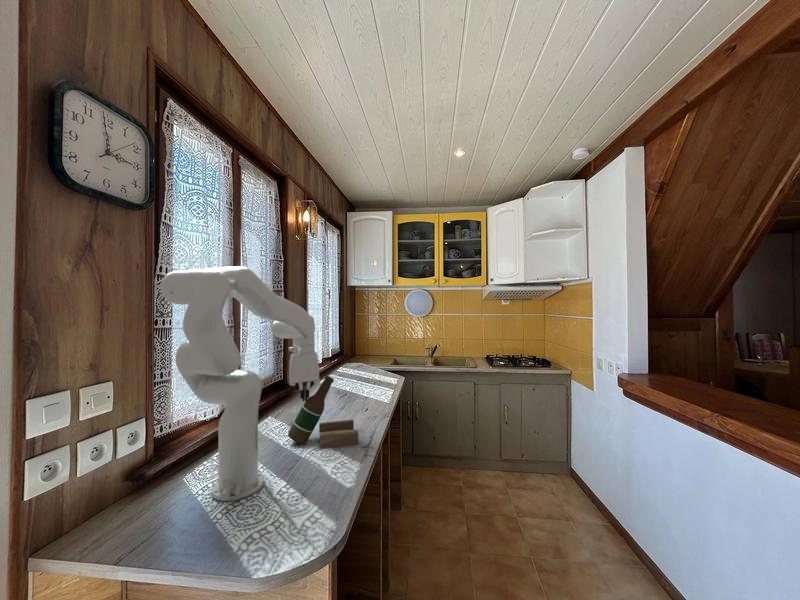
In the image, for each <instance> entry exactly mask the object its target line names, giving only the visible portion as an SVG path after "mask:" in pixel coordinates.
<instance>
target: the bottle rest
mask: <svg viewBox="0 0 800 600" xmlns="http://www.w3.org/2000/svg"><path fill="white" fill-rule="evenodd" d="M318 423H319V424H318V425H319V426H318V427H319V428H318V429H319V430H318V434H319V446H320V448H319V449H320V450H322V449H330V448H338V447H339V448H340V447H345V446H346V447H347V446H355V445H359V432H358V430H356V431H355V429H354V426H355V425H354V419H346V420H345V419H344V420H335V421H326V422H324V421H323V422H318Z"/></svg>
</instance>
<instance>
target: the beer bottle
mask: <svg viewBox="0 0 800 600" xmlns="http://www.w3.org/2000/svg"><path fill="white" fill-rule="evenodd" d="M334 381H335V379H334V378H333V377H331V376H330V375H326V376H324V380H322V382H321V384H320V386H319V387H318V389H317V390H316V392H314V394H312V396H309V398H307V401H304V403H303V405H302V407H301V409H300V410H299V412H298V413H297V416H296V418H295V419H294V421H293V422H292V425H291V426H290V429H289V430H288V433H287V434H288V435H287V437H288V438H290V439H291V440H292V441H293V442H296V443H298V444H306V443H307V442H308V440H309V439H310V437H311V435H312V433H313V431H314V430H315V428H316V426H317V425H318V423H319V420H320V419H321V417H322V415H323V412H324V410H325V399H326V398H327V394H328V392H329V391H330V387H331V386H332V384H333V383H334Z"/></svg>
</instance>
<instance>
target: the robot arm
mask: <svg viewBox="0 0 800 600" xmlns="http://www.w3.org/2000/svg"><path fill="white" fill-rule="evenodd" d="M160 292H161V293H162V296H163V297H164V298H165V299H166V301H169V303H173V304H175V305H187V307H186V310H185V313H184V317H183V320H182V330H183V334H184V335H185V338H186V340H185V341H184V342H182V343H181V344H180V345H179V346H178V348H177V350H176V353H175V364H176V365H175V366H176V369H177V371H178V372H179V373H180V375H181V376H182V378H183V379H184V381H185V383H186V384H187V385H188V387H189V388H190V390H191V392H193V394H194V395H195V396H196V398H197V399H198V400H200V401H201V402H203V403H206V404H213V405H220V406H225V408H224V411H223V413H222V414H221V416H220V419H219V421H218V467H217V468H218V471H217V472H218V481H217V482H216V483H215V484H214V485H213V486H212V488H211V496H212V498H213V499H215V500H217V501H222V502H230V501H237V500H241V499H244V498H247V497H248V496H251V495H253V494H255V493H257V492H258V491H259V490H260V489H261V488H262V487H263V486H264V483H265V477H264V474H262V473H260V472H259V464H258V463H259V461H258V460H259V448H258V447H259V430H258V429H259V405H260V400H261V394H262V390H263V389H262V388H263V384H262V379H261V377H260V376H259V375H258V373H256V372H254V371H251V370H246V369H239V368H240V366H241V362H242V357H241V353H240V351H239V349H238V347H237V344H236V343H235V340H234V339H233V337H232V336H231V333H230V332H229V330H228V328H227V326H226V323H225V321H224V317H223V313H224V309H225V305H226V302H227V299H228V298H230V297H231V298H233V299H236V300H237V302H239V303H240V304H242V305H243V306H244V307H245V308H246V309H247V310H248V311H250V312H251V313H252V314H253V315H255V316H257V317H258V318H262V319H265V320H269V321H273V322H272V325H271V331H272V334H273V335H274V336H275V337H276V338H279V339H289V340H290V339H292V346H290V347H288V352H292V353H291V354H290V358H289V359H290V360H289V375H288V376H289V381H288V385H289V386H292V387H293V386H294V387H296V388H297V389H298V390H299V391H300V399H302V402H306V401H307V399H308V398H309V397H310V389H311V388H312V387H313V386H314V385H316V384H319V383H321V379H320V366H319V365H320V364H319V355H318V352H316V349H315V348H316V346H315V345H316V344H315V343H316V342H315V339H316V338H315V330H316V324H315V317H314V316H312V315H310V313H308V312H307V311H306V309H304V308H303V307H302V306H301V305H299V304H297V303H295V302H293V301H292V300H291V301H290V300H288V299H287V298H284V297H282V296H280V295H277V294H276V293H275V292H274V291H273V290H272V289H271V288H270V287H269V286H268V285H267V284H266V283H265V282H264V281H263V280H262V279H261V278H260V277H259V276H258V275H257V274H256V273H255V272H254V271H253V270H251V269H250V268H249V267H246V266H241V265H240V266H239V265H237V266H218V267H211V268H210V267H209V268H198V269H197V268H196V269H183V270H174V271H170V272H169V273H167V274H166V275H165V276H164V277H163V279H162V280H161V282H160ZM303 383H306V386H304V384H303Z"/></svg>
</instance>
